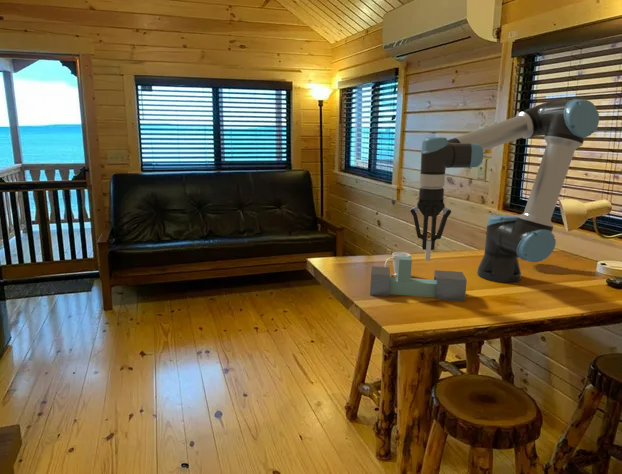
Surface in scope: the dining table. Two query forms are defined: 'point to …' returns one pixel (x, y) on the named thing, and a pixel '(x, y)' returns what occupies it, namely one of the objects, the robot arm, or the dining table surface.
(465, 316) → the dining table surface
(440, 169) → the robot arm
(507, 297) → the dining table surface
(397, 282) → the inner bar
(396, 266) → the cup
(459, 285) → the gray block
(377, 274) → the socket
